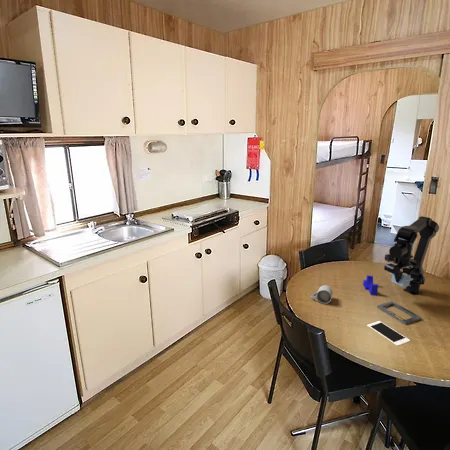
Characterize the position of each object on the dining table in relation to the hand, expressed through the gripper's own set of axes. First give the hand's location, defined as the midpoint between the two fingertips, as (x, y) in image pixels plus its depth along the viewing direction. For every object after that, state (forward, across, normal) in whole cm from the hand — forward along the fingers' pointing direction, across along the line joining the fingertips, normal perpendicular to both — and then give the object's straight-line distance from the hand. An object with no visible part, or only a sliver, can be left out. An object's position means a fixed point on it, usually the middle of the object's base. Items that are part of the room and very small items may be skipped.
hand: (400, 281), depth 160 cm
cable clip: (+12, +2, -16) cm, 20 cm away
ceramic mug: (+12, +33, -18) cm, 40 cm away
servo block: (+1, 0, 0) cm, 1 cm away
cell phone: (+12, +25, +17) cm, 33 cm away
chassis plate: (+12, +8, +8) cm, 16 cm away
